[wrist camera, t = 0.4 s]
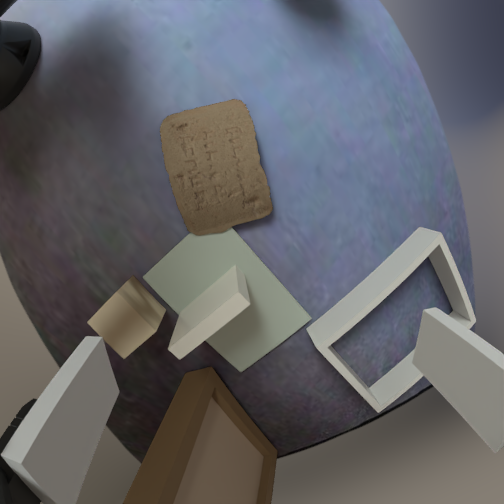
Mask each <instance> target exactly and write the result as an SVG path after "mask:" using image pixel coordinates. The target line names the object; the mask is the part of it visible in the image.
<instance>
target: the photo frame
mask: <svg viewBox="0 0 504 504" xmlns="http://www.w3.org/2000/svg"><path fill="white" fill-rule="evenodd" d="M276 459H277V450H276V449H275V448H274V446H273V445H272V444H271V443H270V442H269V440H268V439H267V438H266V437H265V436H264V434H263V433H262V432H261V431H260V430H259V428H258V427H257V426H256V425H255V423H254V422H253V421H252V420H251V418H250V417H249V416H248V415H247V413H246V412H245V411H244V410H243V408H242V407H241V406H240V404H239V403H238V402H237V401H236V399H235V398H234V397H233V395H232V394H231V393H230V391H229V390H228V389H227V387H226V386H225V385H224V383H223V382H222V380H221V379H220V378H219V376H218V375H217V374H216V372H215V371H214V369H213V368H212V366H211V367H207V368H203V369H199V370H195V371H191V372H187V373H185V375H184V377H183V379H182V381H181V383H180V385H179V387H178V389H177V391H176V393H175V396H174V398H173V400H172V402H171V404H170V406H169V408H168V410H167V412H166V414H165V416H164V418H163V420H162V422H161V425H160V427H159V429H158V431H157V433H156V435H155V437H154V439H153V441H152V443H151V445H150V447H149V449H148V452H147V454H146V456H145V458H144V460H143V462H142V464H141V466H140V468H139V470H138V473H137V475H136V477H135V479H134V481H133V483H132V485H131V487H130V489H129V491H128V493H127V496H126V498H125V500H124V502H123V504H271V500H272V492H273V484H274V476H275V468H276Z"/></svg>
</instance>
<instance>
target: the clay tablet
mask: <svg viewBox="0 0 504 504" xmlns="http://www.w3.org/2000/svg"><path fill="white" fill-rule="evenodd" d="M160 133H161V135H160V136H161V142H162V152H163V153H164V162H165V167H166V171H167V172H168V174H169V180H170V183H171V187H172V189H173V190H172V191H173V194H174V197H175V198H176V203H177V206H178V209H179V211H180V213H181V215H182V218H183V219H184V223H185V224H186V227H187V230H188V231H189V232H191V233H193V234H195V235H199V236H200V235H205V234H209V233H222V232H224V231H226V230H227V229H229V228H230V227H232V226H234V225H237V224H242V223H246V222H249V221H253V220H256V219H260V218H264V217H265V216H266V215H269V214H270V213H271V211H272V210H273V207H272V202H271V198H270V197H269V195H270V188H269V186H267V178H266V175H265V172H264V170H263V169H262V166H261V165H260V163H259V161H260V156H259V154H258V150H257V149H258V147H257V141H256V139H255V136H256V133H255V131H254V125H253V121H252V120H251V116H250V115H249V111H248V110H247V107H246V105H245V104H244V103H243V102H242V101H241V100H235V99H232V100H229V101H225V102H220V103H216V104H212V105H208V106H202V107H199V108H195V109H192V110H185V111H183V112H180V113H175V114H172V115H170V116H167V118H166V119H164V120H163V122H162V124H161V126H160Z"/></svg>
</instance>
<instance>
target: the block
mask: <svg viewBox="0 0 504 504" xmlns="http://www.w3.org/2000/svg"><path fill="white" fill-rule="evenodd" d="M165 312H166V309H165V308H164V307H163V306H162V305H161V304H160V303H159V302H158V301H157V300H156V299H155V298H154V297H153V296H152V295H151V293H150V292H149V291H148V290H147V289H146V288H145V287H144V286H143V285H142V284H141V283H140V282H139V281H138V280H137V279H136V278H135V276H134V275H133V276H132V277H131V278H130V279H129V280H128V281H127V282H126V283H125V284H124V285H123V286H122V287H121V288H120V289H119V290H118V291H117V292H116V293H115V294H114V295H113V296H112V297H111V298H110V299H109V300H108V301H107V302H106V303H105V304H104V305H103V306H102V307H101V308H100V309H99V310H98V311H97V312H96V313H95V315H94V316H93V317H92V318H91V319H90V320H89V321H88V322H87V323H88V324H89V325H90V326H91V327H92V328H93V329H94V330H95V331H96V332H97V333H98V334H99V335H100V336H101V337H103V339H104V340H105V341H106V342H107V343H108V344H109V345H110V346H111V347H112V348H113V349H114V350H115V351H116V352H117V353H118V354H119V355H120V356H121V357H122V358H123V359H125V358H126V357H127V356H128V355H129V354H131V353H132V352H133V351H134V350H135V349H136V348H138V347H139V346H140V345H141V344H142V343H143V342H145V341H146V340H147V339H148V338H149V337H150V336H152V335H153V334H154V333H155V332H156V331H157V329H158V327H159V325H160V322H161V320H162V318H163V316H164V314H165Z"/></svg>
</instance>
